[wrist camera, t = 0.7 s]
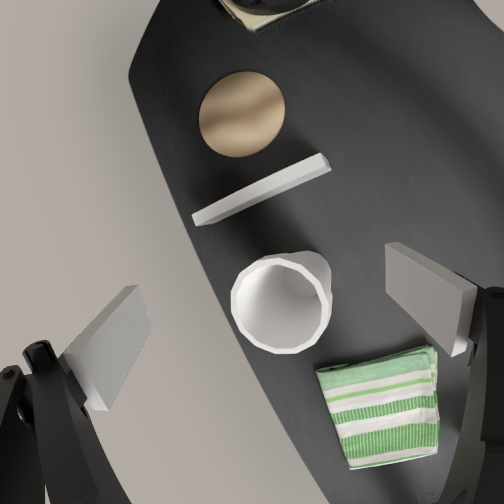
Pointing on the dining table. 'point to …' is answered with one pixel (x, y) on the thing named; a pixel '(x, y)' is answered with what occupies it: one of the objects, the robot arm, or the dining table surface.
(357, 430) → the dish towel
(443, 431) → the dining table surface
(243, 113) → the cork coaster
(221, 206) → the low wall
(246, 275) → the foam cup
